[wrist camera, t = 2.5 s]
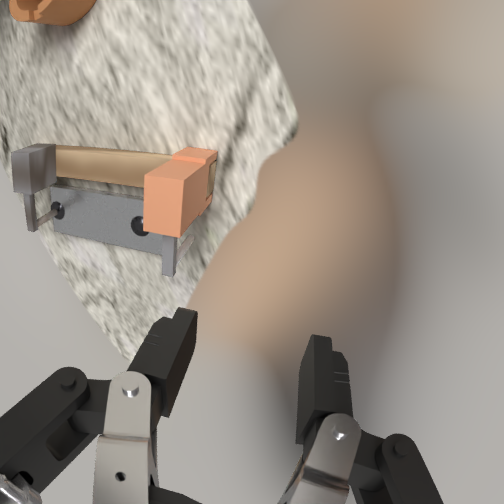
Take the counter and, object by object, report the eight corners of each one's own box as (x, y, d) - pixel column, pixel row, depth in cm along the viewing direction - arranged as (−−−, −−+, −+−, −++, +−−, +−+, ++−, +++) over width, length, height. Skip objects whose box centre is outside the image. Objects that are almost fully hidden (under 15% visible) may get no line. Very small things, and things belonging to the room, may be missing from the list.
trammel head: (187, 146, 30) (144, 169, 21) (217, 150, 30) (184, 174, 21) (180, 234, 35) (144, 282, 26) (207, 239, 34) (177, 290, 26)
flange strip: (54, 184, 34) (49, 186, 33) (170, 201, 33) (166, 204, 32) (57, 227, 37) (53, 231, 36) (168, 251, 36) (164, 255, 35)
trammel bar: (34, 138, 31) (-5, 152, 25) (217, 154, 30) (196, 170, 24) (38, 206, 36) (4, 227, 30) (208, 238, 35) (188, 271, 28)
